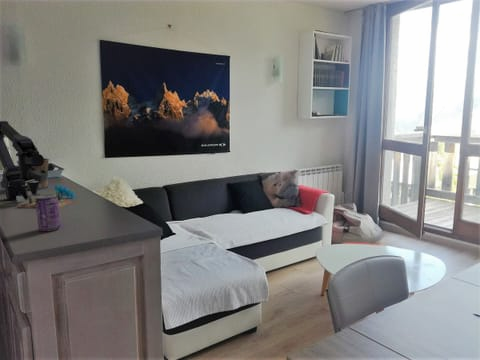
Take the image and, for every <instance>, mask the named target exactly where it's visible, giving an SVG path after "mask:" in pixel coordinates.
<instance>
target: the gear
mask: <svg viewBox="0 0 480 360" xmlns="http://www.w3.org/2000/svg"><path fill="white" fill-rule="evenodd" d="M53 188H54V190H55V191H56V192H55V195H56V198H57V199H58V196H57V194H60V196H61V199H63V198H64V197H67V199H69V198H71V199H74V198H75V197H76V195H75V193H74V192H72V190H71V189H69V190H68V188H67V187H66V186H65V187H63V186H62V185H58V184H56V185H55V186H54V187H53Z"/></svg>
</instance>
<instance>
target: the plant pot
mask: <svg viewBox="0 0 480 360" xmlns="http://www.w3.org/2000/svg"><path fill="white" fill-rule="evenodd" d="M43 158H44V157H43ZM49 161H50V158H44V163H43V165H41V166H33V167H36V170H37V171H40V172H41V170H47V175H48V176H47V177H46V179H47V180H44V181H41V182H42V183H41V184H40V185H39V186H38V190H43V189H47V188H49ZM16 163H17V167H19V160H17V161H16ZM28 183H29V182H28ZM28 183H27V185H29V184H28ZM38 190H37V191H38ZM27 191H31V190H30V187H28V188H27Z"/></svg>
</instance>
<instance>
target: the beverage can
mask: <svg viewBox="0 0 480 360" xmlns="http://www.w3.org/2000/svg"><path fill="white" fill-rule="evenodd" d="M46 194H47V195H40V196H37V197H36V198H37V199H36V202H35V204H36V208H35V212H36V218H37V226H38V231H42V232H45V231H47V232H54V231H56V230H58V229H59V228H61V227H62V223H61V222H62V221H61V216H60V214H61V213H60V208H59V205H58V197H57V198H56V196H57V195H56V193H49V194H48V193H46Z"/></svg>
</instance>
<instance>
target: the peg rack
mask: <svg viewBox="0 0 480 360" xmlns="http://www.w3.org/2000/svg"><path fill="white" fill-rule="evenodd" d="M37 194H38V196H40V195H41V193H37ZM56 194H57V193H56ZM56 196H58V197H57V199H58V205H59V209H60V208H63V207H64V206H67V205H71V204H72V203H73V198H71V199H69V198H67V199H63V198H62V199H61V196H60V194H57V195H56ZM35 202H36V199H33V200H32V196H30V197H29V201H27V202H19V203H18V204H17V207H18V208H20V209H21V208H24V209H25V208H26V209H27V208H29V209H34V208H35V209H36V204H35Z"/></svg>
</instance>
